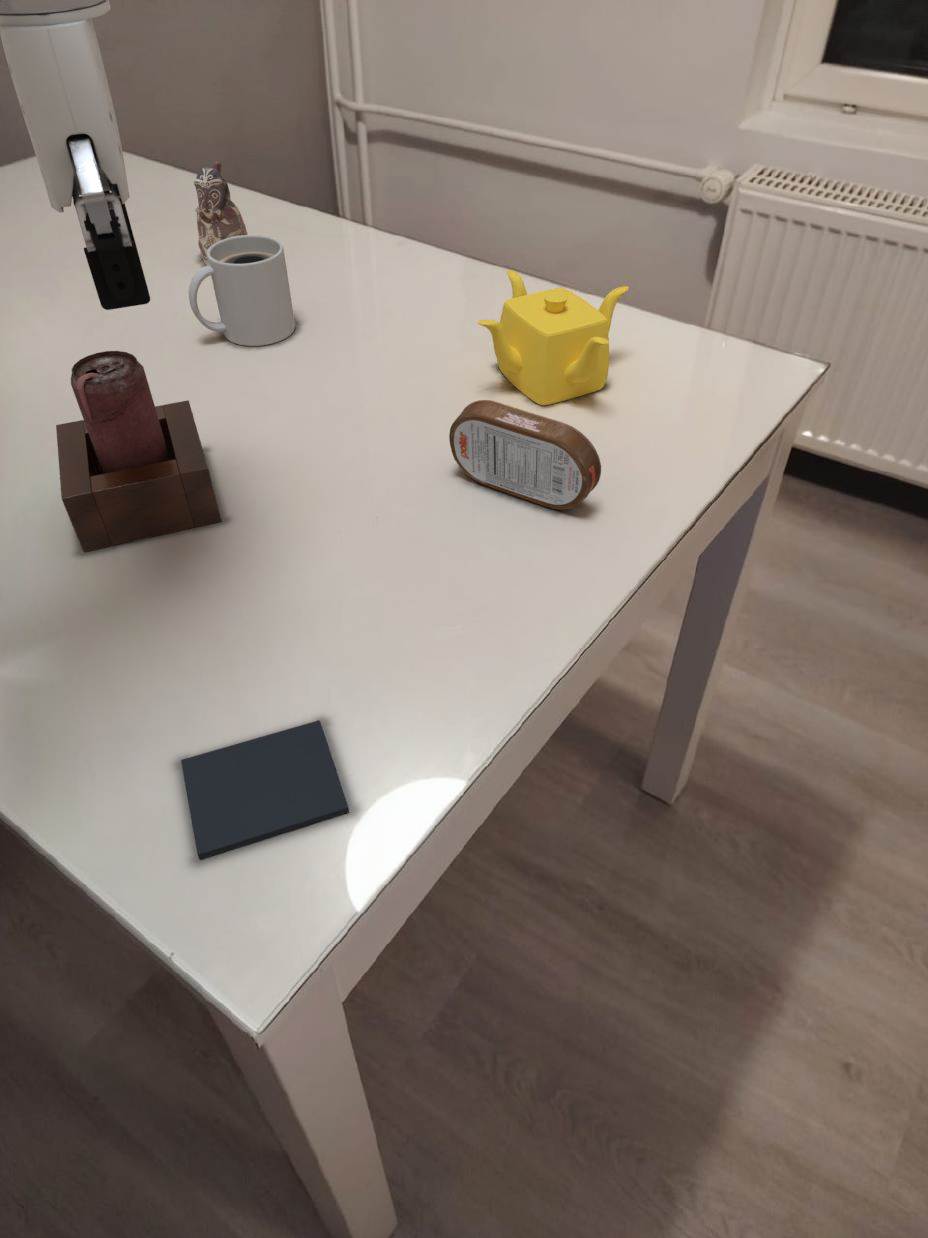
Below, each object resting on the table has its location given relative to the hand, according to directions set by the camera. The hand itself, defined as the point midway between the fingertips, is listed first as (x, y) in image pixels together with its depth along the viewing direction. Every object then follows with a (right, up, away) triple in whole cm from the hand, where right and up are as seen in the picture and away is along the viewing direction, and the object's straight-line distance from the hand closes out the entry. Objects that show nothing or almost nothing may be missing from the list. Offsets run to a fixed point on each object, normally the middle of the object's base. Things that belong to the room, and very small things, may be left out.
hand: (120, 276), depth 62 cm
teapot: (+34, +3, +38) cm, 51 cm away
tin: (+30, -12, +22) cm, 39 cm away
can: (-6, -13, +22) cm, 26 cm away
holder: (-6, -13, +22) cm, 26 cm away
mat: (+11, -36, -2) cm, 38 cm away
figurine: (-10, +27, +63) cm, 69 cm away
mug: (-2, +11, +46) cm, 48 cm away
